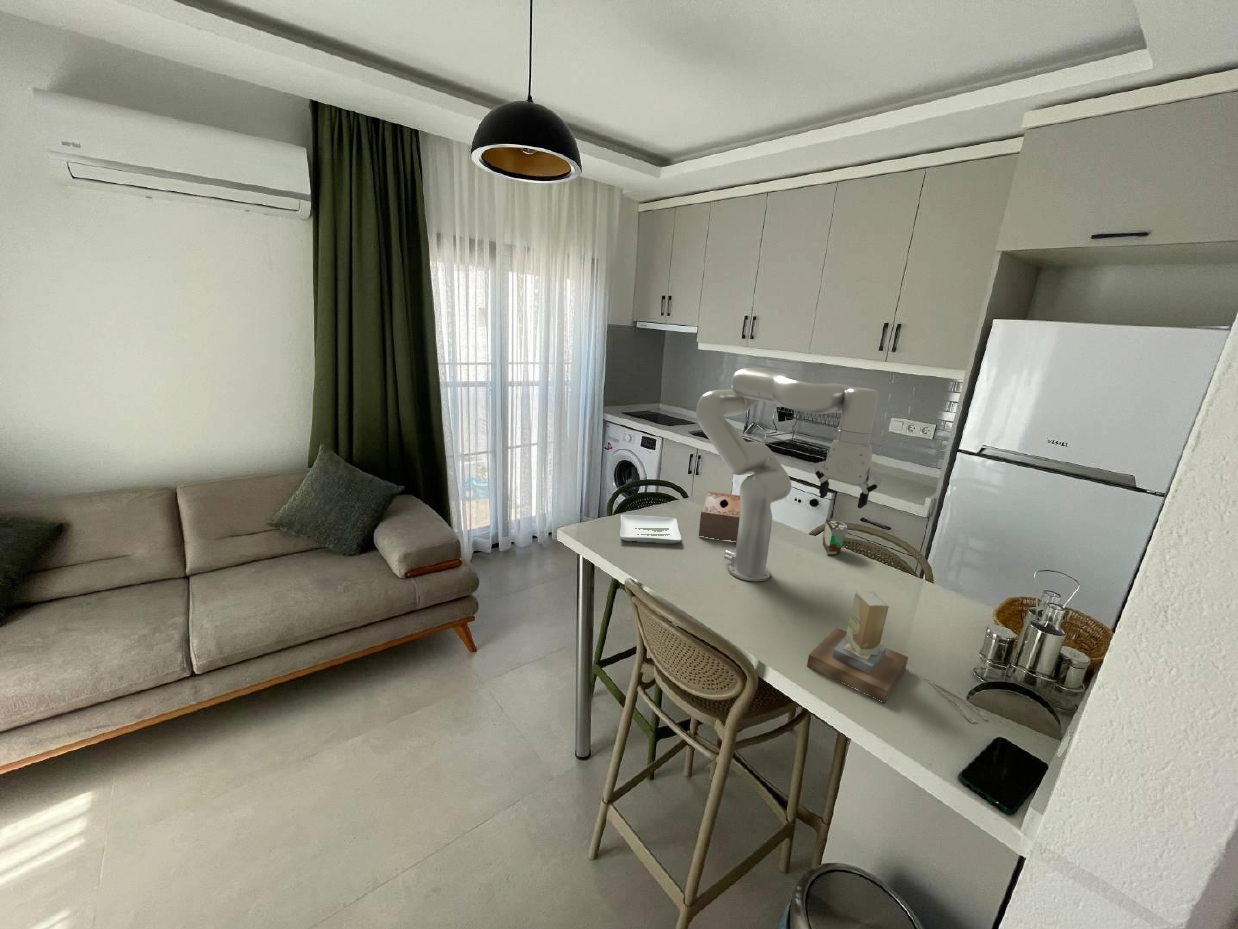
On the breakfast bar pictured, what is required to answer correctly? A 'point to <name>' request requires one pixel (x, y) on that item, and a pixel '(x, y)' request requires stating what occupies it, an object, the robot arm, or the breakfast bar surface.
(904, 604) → the breakfast bar surface
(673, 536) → the salad plate
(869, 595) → the skincare box
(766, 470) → the robot arm
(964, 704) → the tweezers
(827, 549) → the food container
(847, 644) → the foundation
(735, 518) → the tissue box cover
